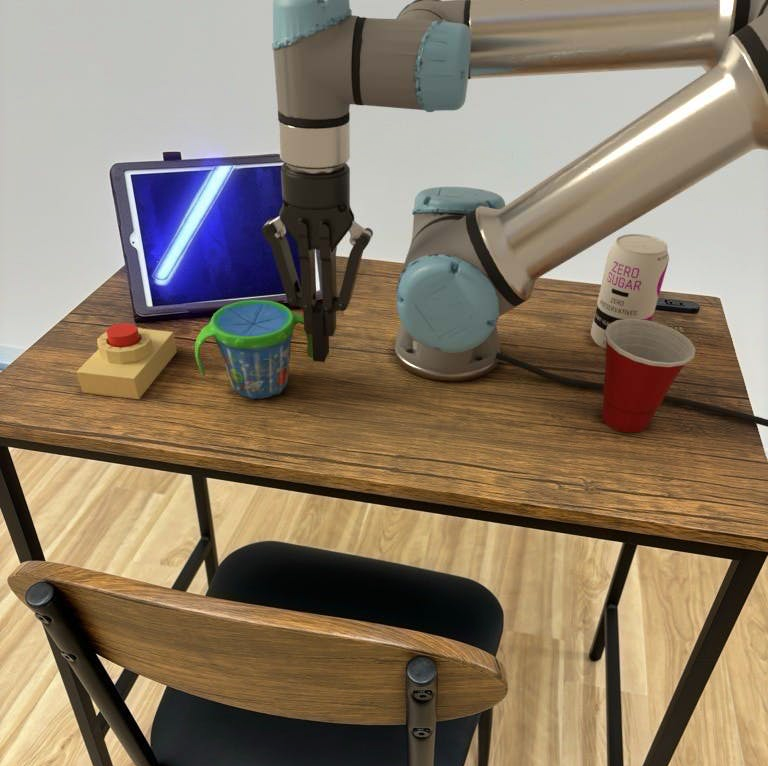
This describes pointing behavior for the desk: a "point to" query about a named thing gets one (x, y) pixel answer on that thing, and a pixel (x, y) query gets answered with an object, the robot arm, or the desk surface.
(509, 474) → the desk surface
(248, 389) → the snack cup
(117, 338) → the button
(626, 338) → the plastic cup
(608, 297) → the supplement can
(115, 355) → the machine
